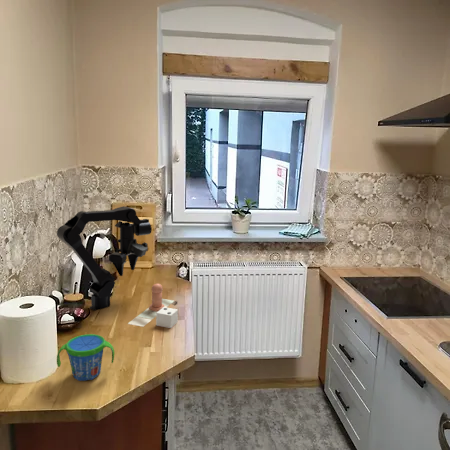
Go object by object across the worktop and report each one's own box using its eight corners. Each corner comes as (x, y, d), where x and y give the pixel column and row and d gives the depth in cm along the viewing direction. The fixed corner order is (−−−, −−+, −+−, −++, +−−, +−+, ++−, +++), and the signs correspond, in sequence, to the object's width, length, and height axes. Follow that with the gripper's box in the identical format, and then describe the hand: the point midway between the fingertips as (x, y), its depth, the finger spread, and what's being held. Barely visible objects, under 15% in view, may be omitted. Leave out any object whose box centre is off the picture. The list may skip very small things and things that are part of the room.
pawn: (155, 312, 155) (156, 287, 153) (146, 308, 159) (146, 283, 157) (167, 308, 160) (167, 284, 158) (158, 304, 164) (158, 280, 162)
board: (146, 330, 142) (146, 327, 142) (124, 326, 144) (124, 323, 144) (177, 303, 168) (177, 301, 168) (158, 300, 171) (158, 297, 171)
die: (170, 330, 142) (171, 315, 141) (156, 328, 144) (156, 312, 143) (177, 324, 148) (177, 309, 147) (163, 321, 150) (163, 306, 149)
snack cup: (52, 385, 107) (51, 351, 105) (64, 365, 117) (63, 333, 115) (110, 385, 108) (110, 351, 106) (117, 364, 118) (117, 333, 117)
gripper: (132, 243, 151) (132, 282, 154) (154, 234, 169) (154, 269, 172) (107, 240, 154) (108, 278, 157) (132, 232, 172) (131, 266, 175)
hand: (127, 272), depth 165 cm, fingers open, 9 cm apart
